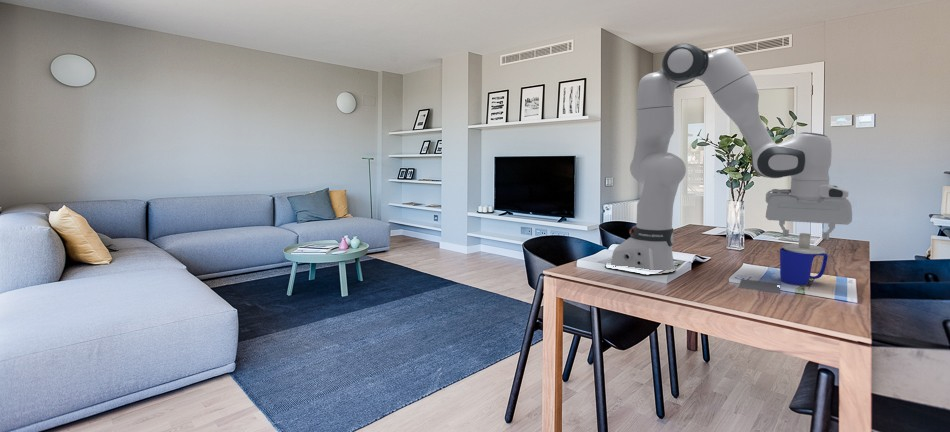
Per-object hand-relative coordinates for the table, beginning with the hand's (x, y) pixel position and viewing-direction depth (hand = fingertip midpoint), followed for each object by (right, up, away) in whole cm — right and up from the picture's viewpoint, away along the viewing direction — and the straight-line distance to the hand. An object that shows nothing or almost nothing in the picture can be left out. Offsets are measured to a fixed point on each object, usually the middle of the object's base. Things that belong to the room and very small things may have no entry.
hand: (805, 237), depth 134 cm
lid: (0, -4, +1) cm, 4 cm away
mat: (-14, -14, -1) cm, 20 cm away
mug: (0, -14, +2) cm, 14 cm away
